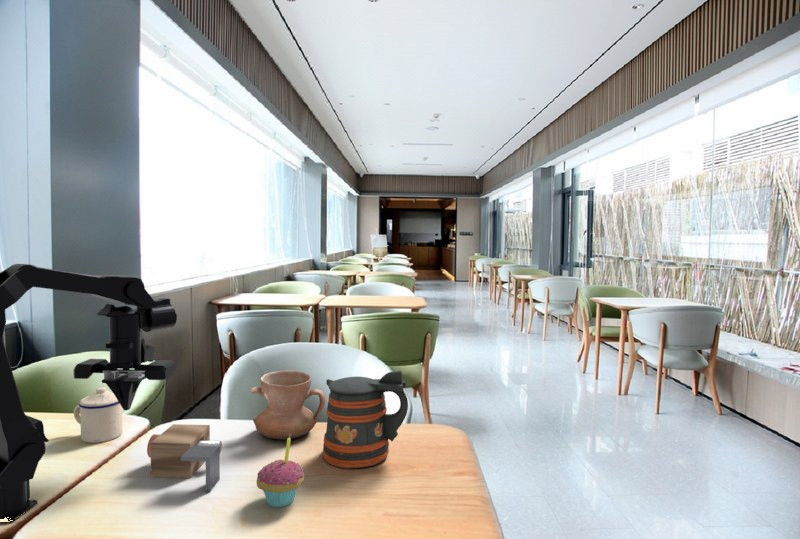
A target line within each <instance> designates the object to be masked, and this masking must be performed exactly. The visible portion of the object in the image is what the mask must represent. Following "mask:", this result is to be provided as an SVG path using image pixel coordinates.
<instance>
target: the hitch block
mask: <svg viewBox="0 0 800 539" xmlns="http://www.w3.org/2000/svg"><path fill="white" fill-rule="evenodd" d="M210 433H211V432H210V424H181V423H179V424H177V423H176V424H175V423H173V424H171V425H170V426H169V427H168V428H167V429H166V430H165V431H163V432H162V433H161V434H158V435H159V436H158V437H157V438H156V439H154V440H153V441H152V442H151V443H150V452H151V458H150V477H151V478H176V479H178V478H182V479H183V478H186V479H187V478H188V479H192V477H193V476H194V475H195V474H196V473H197V471H199V469H200V468H201V467H202V465H204V463H206V461H181V456H182V455H183V454H184V453H185V452H186V451H187V450H188V449H189V448H190V447H191V446H197V442H198V441H199V440H204V441H211V438H210V436H211V435H210Z"/></svg>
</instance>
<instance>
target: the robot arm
mask: <svg viewBox="0 0 800 539" xmlns="http://www.w3.org/2000/svg"><path fill="white" fill-rule="evenodd" d="M32 288H38V289H45V290H46V289H47V290H54V291H55V290H56V291H64V292H73V293H81V294H87V295H90V296H93V297H95V298H99V299H102V300H105V301H108V302H111V303H118V304H123V305H121V306H116V305H114V304H110V303H106V304H105V305H104V306H103V308H102V309H100V310H99V311H98V312H97V316H99V317H103V318H108V332H109V333H108V334H109V338H108V339H109V341H108V342H106V343H105V349H109V361H108V360H107V359H106V358H88V359H87V360H84V361H82V362H79V363H76V364H75V365H74V368H73V379H75V380H76V379H78V380H81V379H84V380H85V379H86V380H87V379H90V378H91V376H92V375H93V374H103V379H102V380H101V383H102V384H106V385H107V387H108V388H109V390H110V392H112V393H114V395H115V397H116V398H117V400H118V401H119V403H120V405H121V406H122V411H130V409H131V407H132V404H133V402H134V399H135V396H136V393H137V391H138V388H139V386H140V384H141V383H142V381H143V380H145V379H147V380H148V381H164V380H167V379H168V378H170V377H172V376H173V375H174V374H176V373H177V364H176V362H175V361H174V360H172V359H171V360H170V359H169V360H168V359H157V360H155V355H156V346H152V345H146V343H145V338H144V337H142V335H141V334H142V332H141V331H143V332H145V333H150V332H154V331H160V330H166V329H167V330H168V329H172V328H174V327H175V325H176V323H177V320H178V314H177V313H176V310H175V307H174V306H173V305H172V304H171V299H170V298H167V297H166V298H165V297H161V298H158V299H154V298H153V297H152V296H151V295H150V293H149V292H148V291H147V289H146V288H145V283H144V282H143V280H142V278H141V277H139V276H135V275H124V274H98V275H96V274H95V275H93V274H84V273H77V272H72V271H67V270H66V271H65V270H59V269H54V268H53V269H52V268H45V267H39V266H36V265H34V264H28V263H15V264H12V265H10V266H9V267H7V268H6V269H4V270H2V271H0V519H4V518H5V517H6V518H7V517H9V518H7V519H8V521H10V520H14V519H15V518H16V517H18V516H20V515H21V514H23V513H24V512H25V513H26V511H27V512H28V511H30V508H31V509H32V508H33V507H35V506H37V505H38V503H39V501H38V500H37V499H31V494H30V493H31V492H30V490H31V489H30V480H33V478H34V477H35V474H36V471H37V467H38V465H39V462H40V461H41V460H42V458H43V457H44V455H46V454H45V453H46V450H47V448H46V443H48V442H49V441H50V440H49V439H48V438H47V437H46V434H45V428H44V422H43V420H40V419H38V418H35V417H32V416H30V415H27V414H25V410H24V407H23V403H22V401H21V400H22V399H21V396H20V393H19V390H18V386H17V382H16V380H15V377H14V373H13V370H12V366H11V364H10V359H9V356H8V352H7V350H6V346H5V343H4V334H5V330H6V329H5V328H6V326H7V315H6V314H7V313H6V310H7V309H9V308H10V307H11V306H13V305H14V304H16V303H17V302H18V301H19V300H20V299H22V297H23V296H24V295H25V294H26V293H28V291H30V289H32ZM131 306H133V307H136V308H132V307H131ZM154 360H155V361H154ZM147 362H148V364H145V363H147ZM142 363H144V364H142ZM25 513H24V514H25ZM24 514H23V515H24ZM21 516H22V515H21ZM21 516H20V517H21ZM10 518H11V519H10ZM18 518H19V517H18ZM9 519H10V520H9ZM14 521H15V520H14Z"/></svg>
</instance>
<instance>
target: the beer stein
mask: <svg viewBox="0 0 800 539" xmlns="http://www.w3.org/2000/svg"><path fill="white" fill-rule="evenodd" d="M325 381H326V385H327V386H328V390H329V391H330V392H329V394H328V401H327V408H326V416H327V421H326V429H325V430H326V431H325V433H324V435H323V449H322V456H323V459H324V461H325V462H326V463H328V464H330V465H332V467H336V468H339V469H345V470H346V469H347V470H348V469H361V468H368V467H373V466H376V465H378V464H380V463H382V462H383V461H384V460H386V458H387V457H388V455H389V451H390V450H389V446H390V443H389V441H391V442H393V441H394V440H395V439H396V437H397V436H398V435H399V433H398V430H399V429H400V427H401V425H402V424H403V423H404V421H405V419H406V417H407V414H408V409H409V401H408V398H407V397H408V396H407V394H406V392H405V390H404V389H405V388H406V387H407V384H408V383H407V381H405V380H404V377H403V372H402V370H400V369H398V370H395V371H394V370H393V371H389V372H387V373H385V374H384V375H383V376H382V377H381V378H375V379H374V378H371V377H365V376H348V377H347V376H346V377H343V378H342V377H341V378H339V379H334V380H332V379H328V378H327V379H326V380H325ZM389 392H392V393H394V394H396V396H397V397H398V399H399V401H400V403H399V409H398V410H397V411H396V412H394V413H391V414H390V413H387V411H388V408H387V404H386V396H385V393H389Z"/></svg>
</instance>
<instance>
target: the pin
mask: <svg viewBox="0 0 800 539" xmlns="http://www.w3.org/2000/svg"><path fill="white" fill-rule="evenodd" d="M159 435H160V434H152V435H151V436H150V437H149V440H148V442H147V446H146V453H147V457H148V458H149V459H151V452H150V443H151V442H152V441H153V440H154V439H156V438H157V437H158V436H159ZM197 446H220V453H221V452H222V448H223V443H222V440H210V441H204V440H199V441H198V442H197Z"/></svg>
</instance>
